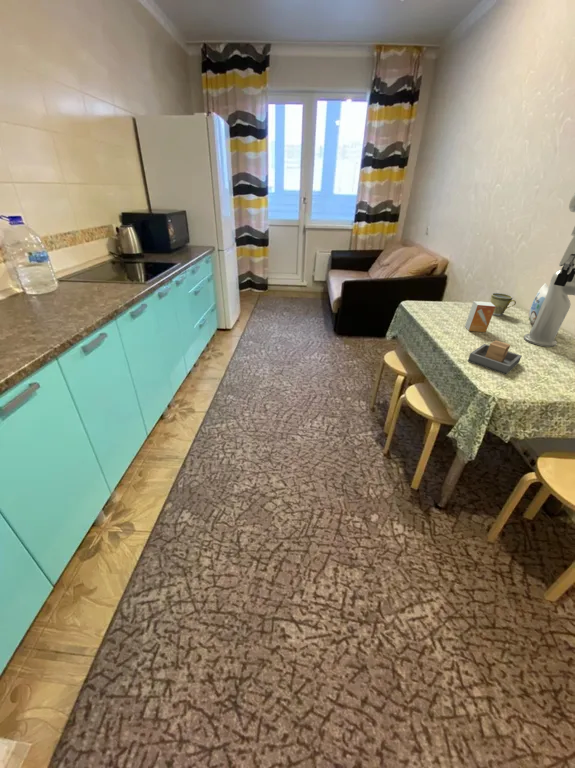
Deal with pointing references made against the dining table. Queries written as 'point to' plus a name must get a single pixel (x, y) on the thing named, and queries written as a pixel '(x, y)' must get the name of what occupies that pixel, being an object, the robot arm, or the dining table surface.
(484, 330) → the small box
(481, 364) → the tray
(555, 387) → the dining table surface
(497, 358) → the wooden block
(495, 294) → the ceramic cup
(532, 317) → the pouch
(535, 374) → the dining table surface
